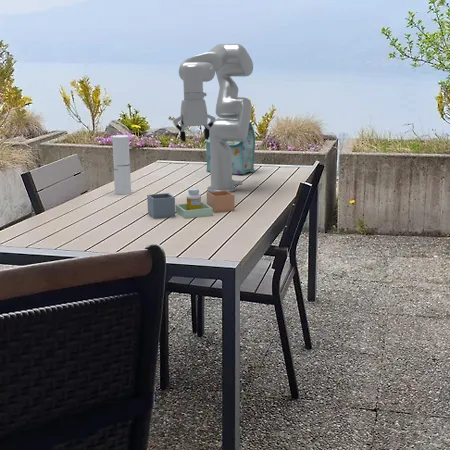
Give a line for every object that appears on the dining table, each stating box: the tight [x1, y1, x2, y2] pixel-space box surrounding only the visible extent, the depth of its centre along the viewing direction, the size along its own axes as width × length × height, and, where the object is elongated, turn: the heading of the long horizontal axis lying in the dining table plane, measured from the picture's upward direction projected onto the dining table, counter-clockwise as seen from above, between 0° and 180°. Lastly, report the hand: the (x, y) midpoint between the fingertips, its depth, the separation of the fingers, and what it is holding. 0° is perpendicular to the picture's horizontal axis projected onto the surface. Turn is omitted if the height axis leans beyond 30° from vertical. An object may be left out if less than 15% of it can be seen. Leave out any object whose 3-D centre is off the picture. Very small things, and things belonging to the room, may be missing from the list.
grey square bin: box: [146, 192, 176, 219], centre depth 256 cm, size 8×8×8 cm
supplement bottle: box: [186, 187, 202, 210], centre depth 257 cm, size 5×5×10 cm
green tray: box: [175, 201, 214, 219], centre depth 258 cm, size 11×11×4 cm
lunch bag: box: [205, 117, 256, 175], centre depth 342 cm, size 23×16×27 cm
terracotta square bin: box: [206, 191, 235, 213], centre depth 264 cm, size 8×8×7 cm
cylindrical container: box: [111, 134, 132, 195], centre depth 296 cm, size 7×7×25 cm
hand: (195, 140), depth 268 cm, fingers open, 9 cm apart
